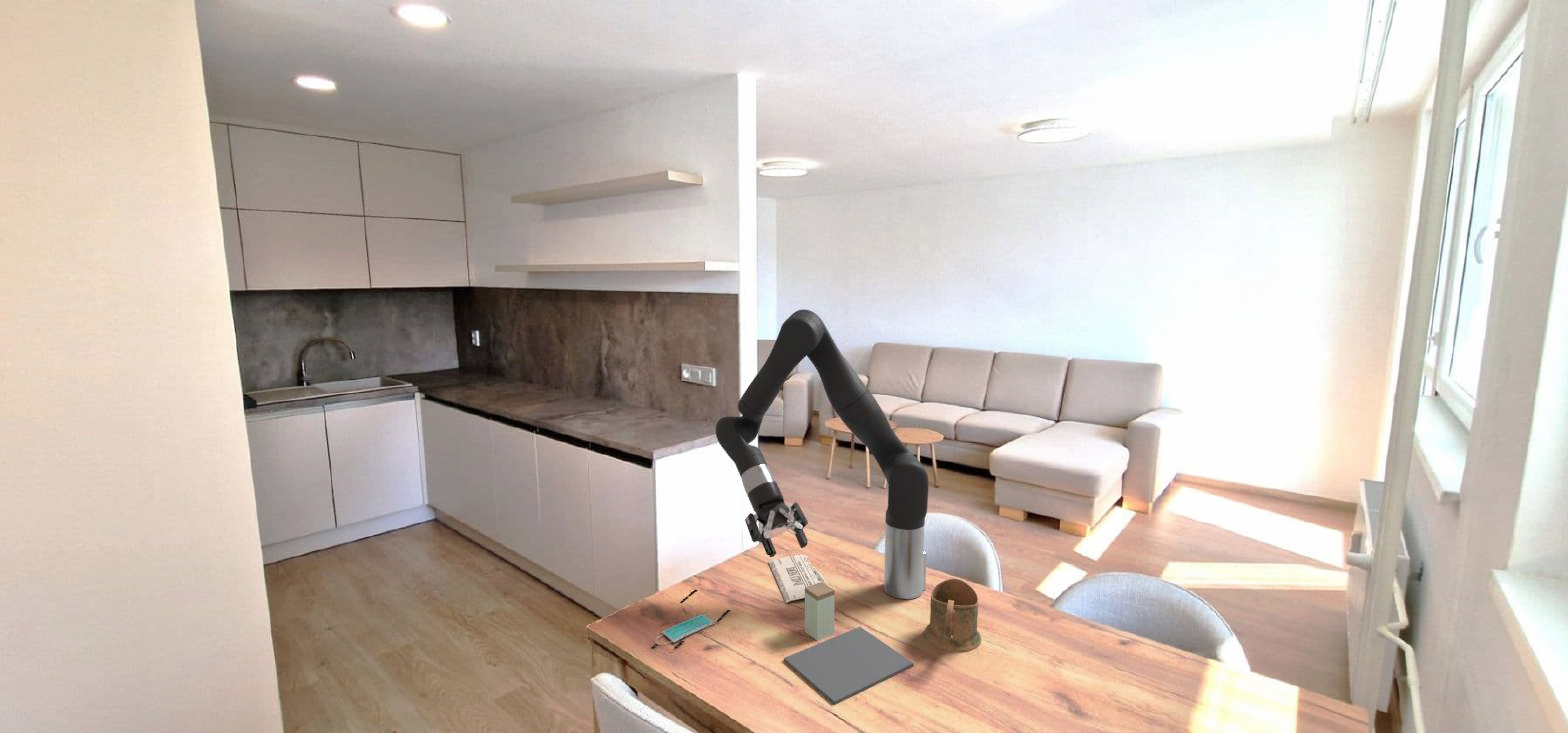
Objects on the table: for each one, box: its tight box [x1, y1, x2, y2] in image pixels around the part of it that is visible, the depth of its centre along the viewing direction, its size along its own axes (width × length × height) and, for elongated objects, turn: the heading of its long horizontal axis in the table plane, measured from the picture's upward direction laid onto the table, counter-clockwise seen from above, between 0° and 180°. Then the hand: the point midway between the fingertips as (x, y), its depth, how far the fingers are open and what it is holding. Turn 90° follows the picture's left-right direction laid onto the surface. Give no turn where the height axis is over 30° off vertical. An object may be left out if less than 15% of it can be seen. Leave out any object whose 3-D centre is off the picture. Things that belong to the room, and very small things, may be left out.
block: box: [804, 582, 836, 642], centre depth 138 cm, size 4×4×10 cm
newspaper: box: [768, 554, 830, 604], centre depth 163 cm, size 23×12×2 cm, turn 12°
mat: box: [783, 626, 915, 705], centre depth 128 cm, size 20×16×1 cm
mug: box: [924, 578, 982, 653], centre depth 134 cm, size 12×18×12 cm, turn 160°
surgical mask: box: [650, 589, 731, 650], centre depth 140 cm, size 21×4×10 cm
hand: (789, 551), depth 146 cm, fingers open, 8 cm apart
